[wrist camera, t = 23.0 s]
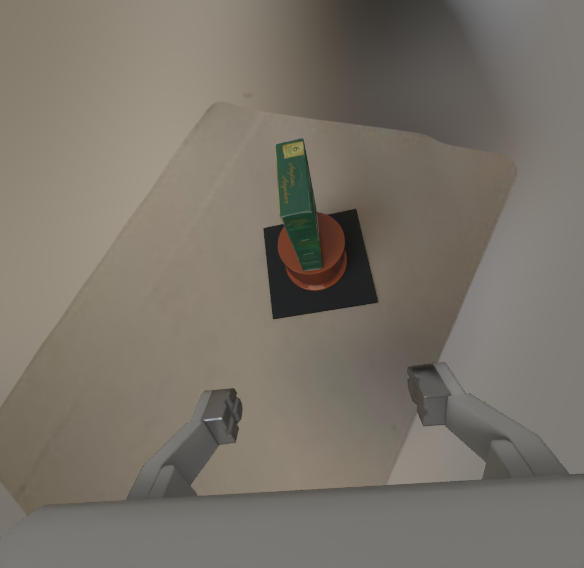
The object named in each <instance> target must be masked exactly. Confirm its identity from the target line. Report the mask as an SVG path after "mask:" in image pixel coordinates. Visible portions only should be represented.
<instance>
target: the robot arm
mask: <svg viewBox="0 0 584 568" xmlns="http://www.w3.org/2000/svg"><path fill="white" fill-rule="evenodd" d="M407 373H408V375H409V379H408V380H407V381H408V389H409V393H410V396H411V398H412V401H413V402H414V403H415V404H416V405H417V413H418V415H419V417H420V419H421V422H422V424H423V426H434V425H445V426H446V427H447V428H448V429H449V430H450V431H451V432H453V433H454V434H455V435H456V436H457V437H458V438H459V439H460V440H461V441H463V442H464V443H465V444H466V445H467V446H468V447H469V448H471V449H472V450H473V451H474V452H475V453H476V454H477V455H478V456H480V457H481V458H482V459H483V460H484V461H485V462H486V466H485V470H484V474H483V478H482V480H469V481H451V482H434V483H417V484H402V485H401V484H399V485H382V486H364V487H346V488H328V489H311V490H294V491H277V492H259V493H242V494H225V495H207V496H197V493H196V492H195V491H194V489H193V488H192V487H191V486H190V485H191V484H192V482H193V481H194V480H195V478H196V477H197V475H198V474H199V473H200V471H201V470H202V468H203V467H204V466H205V464H206V463H207V461H208V460H209V459H210V457H211V456H212V454H213V453H214V452H215V450H216V449H217V447H218V446H219V445H220V444H229V443H236V439H237V434H238V430H239V428H238V426H237V424H238V422H239V421H240V420H241V417H242V403H241V400H240V399H239V398H238V397H236V394H237V392H236V390H235V388H231V389H220V390H210V391H204V392H203V393H202V395H201V397H200V400H199V402H198V404H197V407H196V409H195V411H194V414H193V416H192V419H191V421H190V422H189V423H186V424H185V425H184V426H183V427H182V428H181V429H180V430H179V431H178V432H177V433H176V434H175V435H174V436H173V437H172V438H171V439H170V440H169V441H168V442H167V443H166V444H165V445H164V446H163V447H162V448H161V449H160V450H159V451H158V452H157V453H156V454H155V455H154V456H153V457H152V458H151V459H150V460H149V461H148V462H147V463H146V464H145V465H144V466H143V467H142V469H141V471H140V473H139V475H138V477H137V479H136V481H135V483H134V485H133V487H132V489H131V491H130V493H129V495H128V497H127V499H126V500H120V501H102V502H84V503H66V504H49V505H44V506H42V507H40V508H38V509H36V510H35V511H33V512H32V513H31V514H29V515H28V516H27V517H25V518H24V519H23V520H21V521H20V522H19V523H18V524H16V525H15V526H14V527H13V528H11V529H10V530H9V531H8V532H6V533H5V534H4V535H3V536H1V537H0V568H584V474H573V475H570V474H569V473H568V472H567V470H566V469H565V468H564V467H563V465H562V464H561V463H560V462H559V460H558V459H557V458H556V457H555V455H554V454H553V453H552V452H551V450H550V449H549V448H548V447H547V445H546V444H545V443H544V442H543V440H542V439H541V438H540V437H539V436H538V435H537V434H535V433H533V432H532V431H530V430H529V429H527V428H525V427H523V426H522V425H520V424H519V423H517V422H515V421H514V420H512V419H511V418H509V417H507V416H506V415H504V414H503V413H501V412H499V411H498V410H496V409H494V408H493V407H491V406H489V405H488V404H486V403H485V402H483V401H481V400H480V399H478V398H476V397H475V396H473V395H471V394H466V393H465V391H464V390H463V388H462V387H461V386H460V384H459V382H458V381H457V379H456V378H455V376H454V375H453V373H452V372H451V370H450V369H449V367H448V366H447V364H446V363H444V362H441V363H433V364H424V365H417V366H409V367H408V368H407Z"/></svg>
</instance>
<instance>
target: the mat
mask: <svg viewBox="0 0 584 568" xmlns="http://www.w3.org/2000/svg"><path fill="white" fill-rule="evenodd" d="M328 216H330V217H332V218H333V219H334V220H336V221H337V222H338V223H339V225H340V226H341V228H342V230H343V232H344V236H345V251H346V255H347V266H346V270H345V273H344V275H343V276H342V278H341V279H340V280H339V282H337V283H336V284H335V285H334V286H332V287H330V288H329V289H326V290H322V291H308V290H304V289H302V288H300V287H298V286H297V285H296V284H294V283H293V282H292V280H291V279H290V277H289V276H288V274H287V271H286V267H285V264H284V263H283V261H282V259H281V258H280V255H279V252H278V239H279V235H280V233H281V231H282V229H283V228H284V225H283V224H282V225H277V226H272V227H268V228H264V238H265V247H266V257H267V266H268V276H269V285H270V295H271V305H272V314H273V319H278V318H284V317H290V316H296V315H303V314H309V313H315V312H322V311H328V310H334V309H340V308H347V307H353V306H359V305H366V304H372V303H377V302H378V301H377V297H376V292H375V288H374V284H373V280H372V275H371V271H370V267H369V262H368V258H367V254H366V250H365V245H364V241H363V237H362V233H361V228H360V224H359V220H358V215H357V211H356V209H353V210H348V211H343V212H339V213H334V214H329V215H328Z"/></svg>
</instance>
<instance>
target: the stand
mask: <svg viewBox="0 0 584 568" xmlns="http://www.w3.org/2000/svg"><path fill="white" fill-rule="evenodd" d="M317 217H318V226H319V234H320V243H321V253H322V263H323V268H321V269H318V270H309V271H303V270H302V267H301V265H300V262H299V260H298V257H297V255H296V253H295V250H294V248H293V246H292V243H291V241H290V239H289V236H288V234H287V232H286V229H285V227H284V228H283V229H282V231H281V233H280V235H279V239H278V252H279V255H280V258H281V259H282V261H283V263H284V264H285V267H286V271H287V274H288V276H289V277H290V279H291V280H292V282H293V283H294V284H296V285H297V286H298V287H300V288H302V289H304V290H308V291H322V290H326V289H329V288H330V287H332V286H334V285H335V284H336V283H337V282H339V280H340V279H341V278H342V276H343V275H344V273H345V270H346V266H347V255H346V251H345V236H344V232H343V230H342V228H341V226H340V225H339V223H338V222H337V221H336V220H334V219H333V218H332V217H330V216H328V215H326V214H323V213H318V212H317Z"/></svg>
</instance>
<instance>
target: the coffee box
mask: <svg viewBox="0 0 584 568" xmlns="http://www.w3.org/2000/svg"><path fill="white" fill-rule="evenodd" d="M275 148H276V165H277V183H278V200H279V212H280V218H281V221H282V223H283V225H284V227H285V229H286V232H287V234H288V236H289V239H290V241H291V243H292V246H293V248H294V250H295V253H296V255H297V257H298V260H299V262H300V265H301V267H302V270H303V271H309V270H318V269H321V268H323V263H322V253H321V243H320V234H319V226H318V217H317V211H316V205H315V199H314V193H313V188H312V183H311V177H310V172H309V166H308V161H307V156H306V150H305V145H304V140H303V138H301V139H297V140H293V141H289V142H284V143H280V144H277V145H276V146H275Z"/></svg>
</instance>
